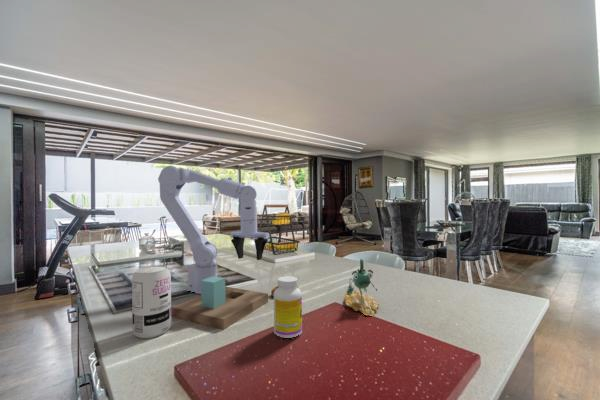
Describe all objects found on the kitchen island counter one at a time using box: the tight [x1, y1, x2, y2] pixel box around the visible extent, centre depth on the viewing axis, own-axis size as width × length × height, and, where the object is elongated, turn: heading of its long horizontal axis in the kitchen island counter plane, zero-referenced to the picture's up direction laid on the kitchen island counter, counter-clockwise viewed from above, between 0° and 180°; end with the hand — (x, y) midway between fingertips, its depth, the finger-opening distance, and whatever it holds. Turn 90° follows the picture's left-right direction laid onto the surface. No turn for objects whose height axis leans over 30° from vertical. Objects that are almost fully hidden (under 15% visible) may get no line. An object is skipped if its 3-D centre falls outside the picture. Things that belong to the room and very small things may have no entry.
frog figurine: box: [344, 258, 380, 317], centre depth 84 cm, size 10×18×15 cm, turn 2°
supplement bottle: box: [273, 275, 303, 339], centre depth 67 cm, size 7×7×13 cm
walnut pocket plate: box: [171, 286, 269, 330], centre depth 82 cm, size 18×20×2 cm
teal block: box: [200, 276, 226, 309], centre depth 79 cm, size 4×4×7 cm
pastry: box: [270, 285, 300, 297], centre depth 94 cm, size 9×7×4 cm
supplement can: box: [131, 265, 172, 339], centre depth 68 cm, size 8×8×15 cm
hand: (249, 258), depth 100 cm, fingers open, 7 cm apart
